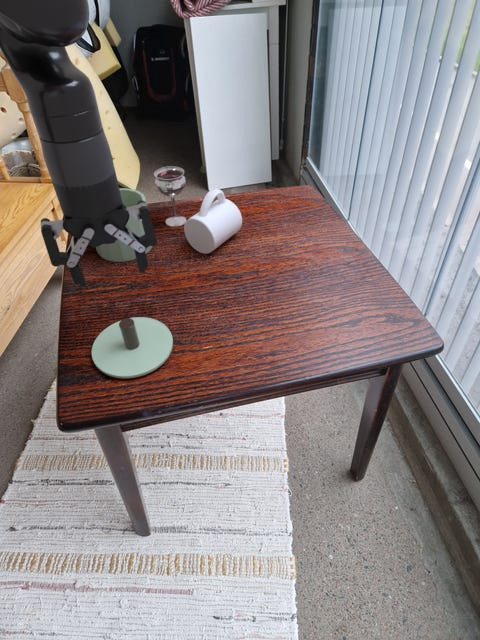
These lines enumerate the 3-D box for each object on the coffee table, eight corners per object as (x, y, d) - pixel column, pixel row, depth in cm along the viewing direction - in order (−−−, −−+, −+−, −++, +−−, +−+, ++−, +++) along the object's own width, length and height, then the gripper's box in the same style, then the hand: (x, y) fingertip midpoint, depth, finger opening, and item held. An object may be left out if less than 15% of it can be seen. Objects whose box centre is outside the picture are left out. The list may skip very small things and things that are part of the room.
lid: (97, 391, 65) (87, 365, 61) (89, 332, 74) (79, 306, 70) (182, 367, 68) (177, 341, 64) (164, 314, 77) (159, 288, 73)
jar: (100, 267, 88) (86, 223, 81) (94, 236, 96) (81, 194, 89) (158, 254, 91) (150, 210, 84) (147, 226, 99) (139, 184, 92)
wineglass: (157, 218, 102) (149, 170, 93) (183, 211, 104) (177, 163, 96) (168, 231, 97) (160, 182, 89) (194, 223, 100) (189, 175, 91)
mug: (185, 247, 93) (179, 197, 84) (214, 226, 99) (210, 177, 90) (215, 259, 89) (211, 208, 81) (243, 236, 95) (242, 187, 87)
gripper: (19, 194, 46) (64, 304, 58) (147, 172, 50) (166, 280, 61) (19, 167, 51) (61, 273, 63) (135, 149, 55) (155, 252, 66)
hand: (112, 276), depth 62 cm, fingers open, 8 cm apart
